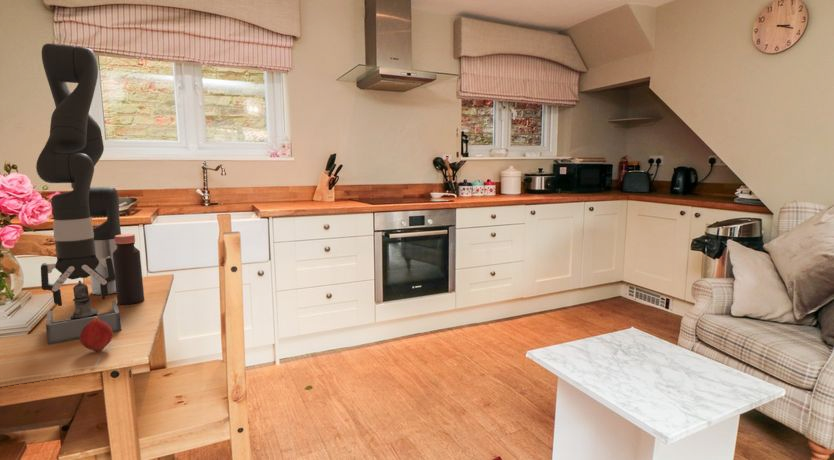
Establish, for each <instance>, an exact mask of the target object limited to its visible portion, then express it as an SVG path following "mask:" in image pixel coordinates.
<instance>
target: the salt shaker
mask: <svg viewBox="0 0 834 460" xmlns="http://www.w3.org/2000/svg"><path fill="white" fill-rule="evenodd" d="M77 283H78V284H76V285H74V286H73V287H72V289H73V297H74V298H73V299H72V301H73V302H74V312H72V313H70V314H69V315H68V317H69V319H71V320H76V319H82V318H88V317H93V316H97V314H99V310H97V309H93V308H92V305H91V301H90V300H91V298H92V297H91V296H90V294H89V287H88V284H85V283H82V281H81V280H78V282H77Z"/></svg>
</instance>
